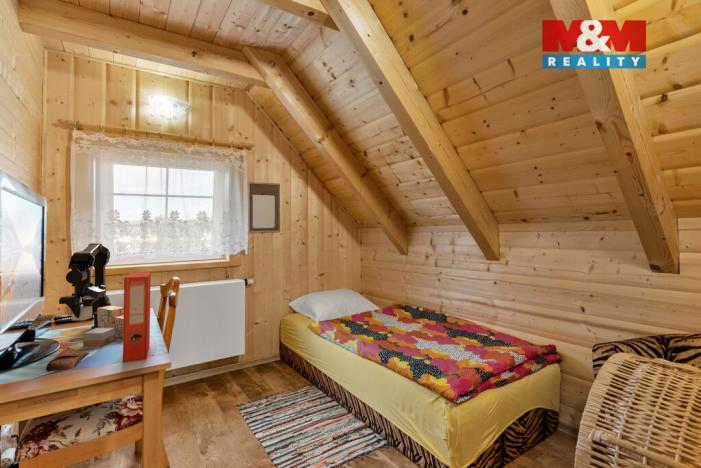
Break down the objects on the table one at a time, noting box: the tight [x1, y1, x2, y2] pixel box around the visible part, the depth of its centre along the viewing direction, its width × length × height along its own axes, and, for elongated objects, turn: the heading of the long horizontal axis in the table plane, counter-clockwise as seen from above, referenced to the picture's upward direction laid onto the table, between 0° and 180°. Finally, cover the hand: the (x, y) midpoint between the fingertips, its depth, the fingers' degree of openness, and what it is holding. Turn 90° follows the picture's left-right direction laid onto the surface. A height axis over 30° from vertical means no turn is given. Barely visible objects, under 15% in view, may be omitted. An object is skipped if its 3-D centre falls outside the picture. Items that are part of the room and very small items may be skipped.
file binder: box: [122, 271, 152, 363], centre depth 140 cm, size 8×17×32 cm, turn 27°
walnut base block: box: [82, 335, 115, 347], centre depth 154 cm, size 8×8×3 cm
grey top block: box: [82, 328, 114, 341], centre depth 154 cm, size 8×8×3 cm
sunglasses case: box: [45, 346, 90, 373], centre depth 131 cm, size 18×7×7 cm
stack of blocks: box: [97, 305, 124, 339], centre depth 167 cm, size 21×6×12 cm, turn 63°
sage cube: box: [71, 305, 93, 321], centre depth 153 cm, size 5×5×5 cm
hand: (82, 316), depth 153 cm, fingers closed on sage cube, 5 cm apart
